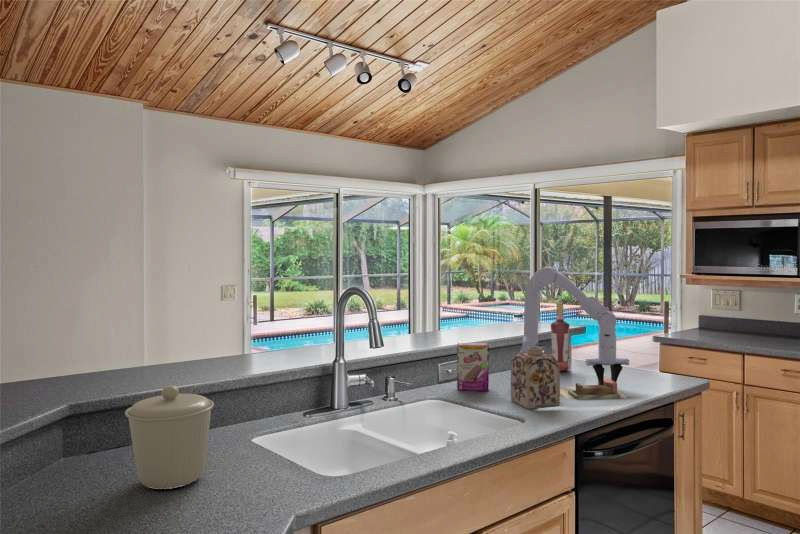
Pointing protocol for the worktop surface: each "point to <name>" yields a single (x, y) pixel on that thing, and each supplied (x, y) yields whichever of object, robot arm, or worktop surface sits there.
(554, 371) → the decorative jar
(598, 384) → the pink rectangular block
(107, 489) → the worktop surface
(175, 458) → the canister
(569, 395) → the jig
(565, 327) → the liquor
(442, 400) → the worktop surface
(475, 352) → the candy bar box
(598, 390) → the brown u-shaped block
